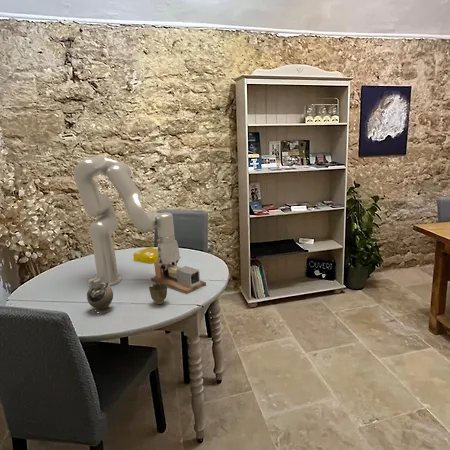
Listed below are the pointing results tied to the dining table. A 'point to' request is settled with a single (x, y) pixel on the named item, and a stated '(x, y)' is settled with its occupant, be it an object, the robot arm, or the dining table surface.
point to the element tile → (147, 255)
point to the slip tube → (172, 270)
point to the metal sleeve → (188, 277)
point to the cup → (158, 292)
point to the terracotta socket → (158, 270)
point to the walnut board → (176, 284)
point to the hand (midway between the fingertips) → (170, 275)
